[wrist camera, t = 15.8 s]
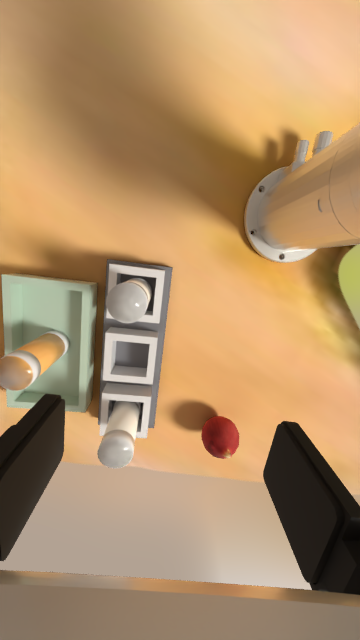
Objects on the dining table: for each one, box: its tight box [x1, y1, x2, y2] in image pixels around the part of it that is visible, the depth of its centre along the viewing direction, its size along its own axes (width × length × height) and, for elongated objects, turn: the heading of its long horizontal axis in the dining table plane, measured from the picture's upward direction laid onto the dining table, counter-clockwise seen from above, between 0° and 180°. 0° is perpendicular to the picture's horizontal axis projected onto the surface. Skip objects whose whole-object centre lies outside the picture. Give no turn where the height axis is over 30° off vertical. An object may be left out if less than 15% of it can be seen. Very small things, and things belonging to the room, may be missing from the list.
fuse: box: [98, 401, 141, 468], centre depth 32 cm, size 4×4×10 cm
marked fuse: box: [0, 330, 70, 391], centre depth 30 cm, size 4×4×10 cm
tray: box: [1, 273, 98, 412], centre depth 34 cm, size 19×11×4 cm, turn 173°
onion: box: [202, 416, 239, 459], centre depth 37 cm, size 6×6×8 cm
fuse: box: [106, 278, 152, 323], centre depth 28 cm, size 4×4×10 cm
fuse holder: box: [98, 259, 172, 438], centre depth 34 cm, size 26×9×4 cm, turn 173°
